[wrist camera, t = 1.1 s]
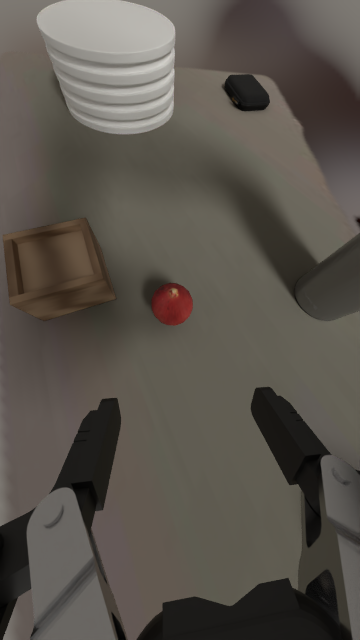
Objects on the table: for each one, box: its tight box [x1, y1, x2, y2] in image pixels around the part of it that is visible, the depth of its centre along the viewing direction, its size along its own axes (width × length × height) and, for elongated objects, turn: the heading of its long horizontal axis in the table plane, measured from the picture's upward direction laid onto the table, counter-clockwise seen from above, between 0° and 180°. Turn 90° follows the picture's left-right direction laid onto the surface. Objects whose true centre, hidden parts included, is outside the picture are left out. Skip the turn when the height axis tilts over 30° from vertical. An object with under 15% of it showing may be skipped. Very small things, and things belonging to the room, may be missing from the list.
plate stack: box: [37, 0, 175, 134], centre depth 42 cm, size 28×28×12 cm
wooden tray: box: [3, 218, 116, 321], centre depth 26 cm, size 11×11×6 cm
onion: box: [152, 283, 193, 325], centre depth 24 cm, size 6×6×8 cm
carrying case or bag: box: [225, 74, 270, 111], centre depth 51 cm, size 11×3×15 cm
